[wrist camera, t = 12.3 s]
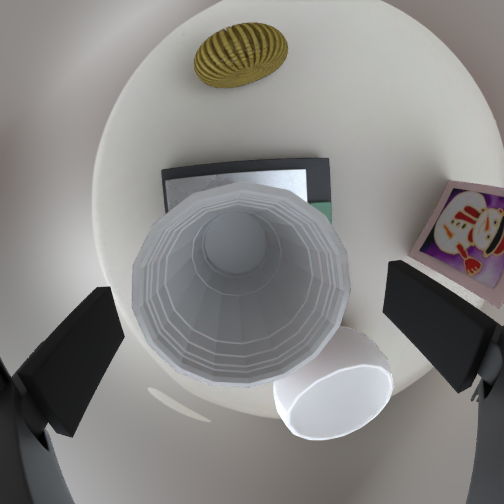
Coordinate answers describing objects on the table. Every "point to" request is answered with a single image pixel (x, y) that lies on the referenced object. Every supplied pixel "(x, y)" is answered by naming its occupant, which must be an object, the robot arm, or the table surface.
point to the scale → (253, 179)
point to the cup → (336, 388)
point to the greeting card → (467, 239)
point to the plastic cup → (240, 285)
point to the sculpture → (240, 55)
